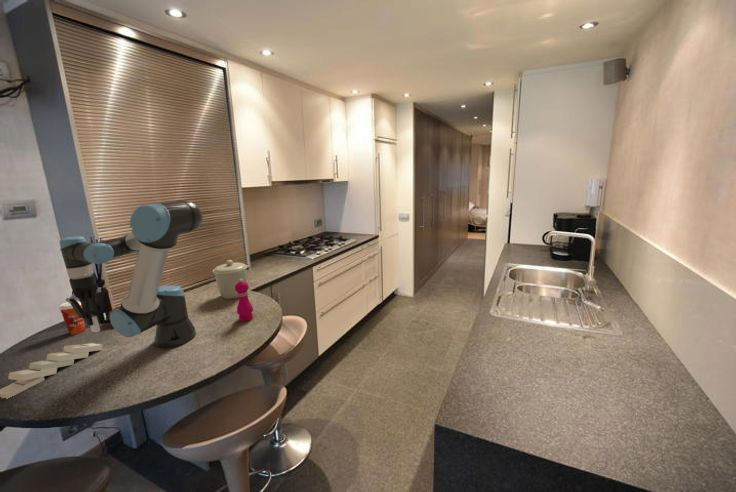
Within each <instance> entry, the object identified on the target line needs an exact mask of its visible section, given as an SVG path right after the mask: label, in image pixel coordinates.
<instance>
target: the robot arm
mask: <svg viewBox="0 0 736 492" xmlns="http://www.w3.org/2000/svg"><path fill="white" fill-rule="evenodd" d="M203 215H204V214H203V211H202V210H201V208H200V207H199V205H197V204H196V203H194V202H192V201H189V200H183V199H181V200H179V199H178V200H174V201H165V202H159V203H158V202H152V203H147V204H145V205H144V204H143V205H140V206H139V207H137V208H136V209H134V211H133V212H132V213H131V216H130V220H129V227H130V228H132V229H131V232H130V233H129V232H128V233H127V234H125V235H122V236H119V237H115V238H110V239H105V240H101V241H95V242H87V240H86V238H85V237H84V236H82V235H79V236H69V237H64V238H61V239H60V240H59V247H60V252H61V256H62V259H63V262H64V266H65V270H66V273H67V277H68V278H69V279H68V281H69V284H70V285H69V286H70V288H71V290H72V292H71V295H70V297H67V298H65V301H66V302H69V303H70V304H71V305H72V307H73V309H74V310H75V312H76V313H77V315H78V316H79V318H83V319H84V320H85V321H86V324H87V326H89V327H90V330H91V332H92V333H98V332H100V331H101V327H100V324H99V323H100V322H101V319H100V315H101V313H103V312H104V293H105V292H106V291H105V290H106V288H105V287H99V286H98V284H97V280H96V276H95V275H94V268H93V264H97V265H100V264H106V263H109V262H110V261H111V260H113V259H117V258H119V257H123V256H124V257H125V256H127V255H132V254H137V257H136V259H135V260H136V261H135V264H134V270H133V274H132V278H131V282H130V286H129V292H128V294H126V295H124V296H123V298H121V303H120V305H119V306H120V308H118V309H115V308H113V309H114V310H113V309H112V310H113V311H112V312H111V313H110V320H109V322H110V324H111V326H112V327H113V329H114V330H115V331H116V332H117V333H118V334H119V335H121V336H122V337H125V338H133V337H135V336H137V335H141V334H142V333H144V332H145V331H147V330H149V329H152V328H153V327H155V326H156V328H155V336H154V339H153V340H154V344H155V346H156V347H158V348H161V349H163V348H164V349H165V348H167V349H168V348H174V347H177V346H181V345H184V344H187V342H189V341H191V340H193V338H195V337H196V335H197V332H196V331H197V330H196V327H195V326H194V325H193V323H192V321H191V320H190V318H189V314H188V308H187V302H186V297H185V296H186V295H185V293H184V289H183V288H182V286H179V285H164V286H161V282H162V278H163V275H164V271H165V268H166V264H167V260H168V257H169V253H170V250H171V249H173V248H175V247H176V245H177V243H178V239H179V236H181V235H184V234H188V233H192V232H195V231H196V230H198V229H199V228H200V226H201V225H202V223H203V220H204V218H203V217H204V216H203ZM77 299H78V300H77ZM77 301H80V302H81V306H82V308H81V306H80V305H79V303H78V302H77Z"/></svg>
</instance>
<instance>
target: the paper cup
mask: <svg viewBox="0 0 736 492" xmlns="http://www.w3.org/2000/svg"><path fill="white" fill-rule="evenodd" d="M76 301H77V302H78V303H79V305H80V306H81V308H82V305H81V302H80V301H79V300H76ZM58 309H59V310H60V313H61V315H62V317H63V320H64V323H65V326H66V328H67V330H68V333H69V335H70V336H71V335H72V336H73V335H78V334H79V335H80V334H81V333H84V332H85V331H86V322H85V319H83V318H79V316H78V315H77V313H76V312H75V310H74V309H73V307H72V305H71V304H70V303H69V302H67V301H66V302H64V303H61V304H60V305H59V308H58Z"/></svg>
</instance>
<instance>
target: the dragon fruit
mask: <svg viewBox="0 0 736 492" xmlns="http://www.w3.org/2000/svg"><path fill="white" fill-rule="evenodd" d="M120 306H121V305H119V306H115V307H114V308H113V309H110V311H109V312H108V314H107V315H106V316H107V317H105V321H107V322H108V321H110V313H111V312H112V311H113V310H114V309H118V308H120Z"/></svg>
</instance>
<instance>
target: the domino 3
mask: <svg viewBox="0 0 736 492" xmlns="http://www.w3.org/2000/svg"><path fill="white" fill-rule="evenodd" d="M74 362H75V359H71V360H64V361H52V360H46V359H45V360H39V361H34V362H30V363H29V367H28V369H34V370H40V371H42V370H47V369H53V368H57V369H58V368H62V367H67V366H73V365H74V364H75V363H74Z"/></svg>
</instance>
